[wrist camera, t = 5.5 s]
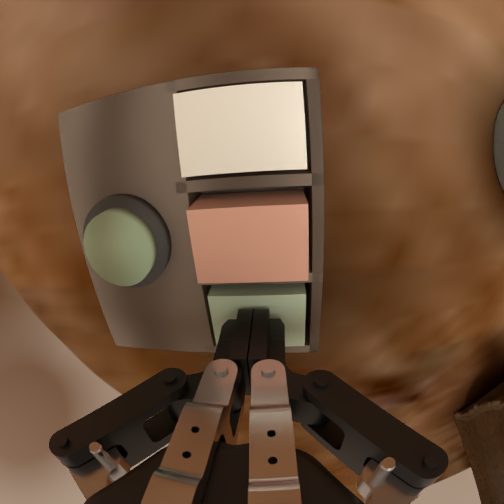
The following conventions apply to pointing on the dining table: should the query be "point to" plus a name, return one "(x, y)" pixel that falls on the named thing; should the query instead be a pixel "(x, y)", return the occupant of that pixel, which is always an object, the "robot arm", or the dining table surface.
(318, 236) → the key console
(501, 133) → the grey-green tumbler
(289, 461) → the robot arm
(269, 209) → the terracotta key
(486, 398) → the brown lantern
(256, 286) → the sage key
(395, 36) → the dining table surface
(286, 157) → the cream key
